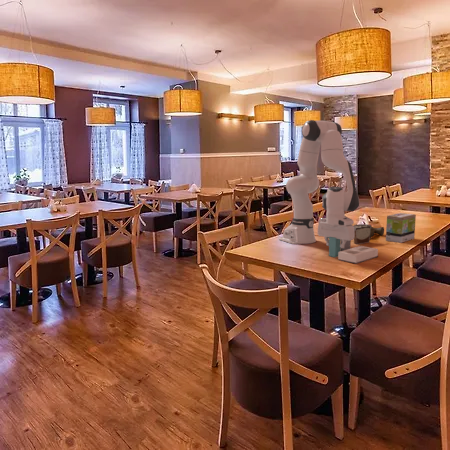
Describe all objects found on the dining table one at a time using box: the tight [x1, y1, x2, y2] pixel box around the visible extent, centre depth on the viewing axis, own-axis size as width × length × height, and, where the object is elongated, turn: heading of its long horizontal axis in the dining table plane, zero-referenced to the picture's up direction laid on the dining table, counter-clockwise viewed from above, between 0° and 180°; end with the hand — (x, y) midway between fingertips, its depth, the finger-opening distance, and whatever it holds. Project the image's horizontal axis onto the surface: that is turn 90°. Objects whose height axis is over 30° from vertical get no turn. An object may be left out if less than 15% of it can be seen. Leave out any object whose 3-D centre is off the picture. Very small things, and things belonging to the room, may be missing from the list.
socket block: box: [337, 245, 379, 265], centre depth 204 cm, size 10×18×4 cm, turn 128°
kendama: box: [370, 225, 385, 240], centre depth 253 cm, size 6×10×20 cm
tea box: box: [385, 212, 417, 244], centre depth 239 cm, size 15×10×15 cm, turn 129°
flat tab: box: [340, 240, 352, 251], centre depth 215 cm, size 2×6×9 cm, turn 128°
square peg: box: [328, 237, 341, 258], centre depth 209 cm, size 4×4×10 cm
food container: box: [352, 223, 372, 245], centre depth 237 cm, size 12×6×10 cm, turn 116°
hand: (335, 246), depth 209 cm, fingers open, 7 cm apart
